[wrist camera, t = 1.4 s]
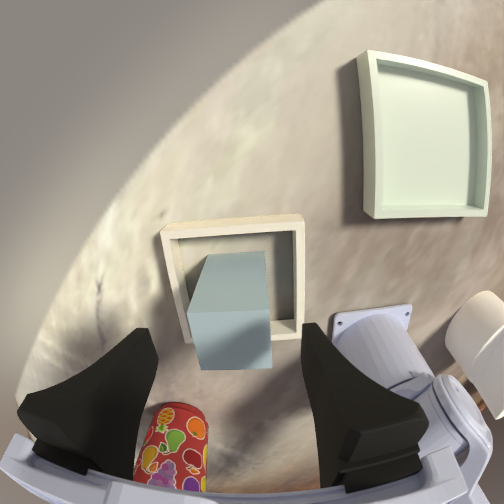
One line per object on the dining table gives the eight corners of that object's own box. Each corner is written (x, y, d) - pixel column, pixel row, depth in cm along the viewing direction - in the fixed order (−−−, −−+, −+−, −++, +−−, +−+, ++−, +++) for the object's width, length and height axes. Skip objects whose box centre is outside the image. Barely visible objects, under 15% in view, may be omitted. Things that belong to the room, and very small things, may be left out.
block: (267, 299, 24) (272, 367, 16) (215, 302, 24) (201, 369, 16) (264, 250, 22) (269, 309, 15) (207, 254, 22) (186, 313, 15)
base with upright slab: (465, 289, 24) (531, 357, 12) (505, 291, 24) (562, 345, 13) (433, 354, 27) (477, 428, 16) (477, 349, 27) (519, 408, 16)
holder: (300, 323, 25) (303, 337, 23) (189, 329, 25) (185, 343, 23) (300, 213, 21) (304, 221, 19) (167, 223, 21) (160, 232, 19)
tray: (471, 209, 20) (486, 216, 18) (362, 210, 21) (374, 218, 18) (471, 83, 16) (487, 81, 13) (355, 57, 16) (367, 49, 14)
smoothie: (158, 426, 32) (129, 550, 13) (144, 390, 29) (97, 539, 10) (217, 433, 32) (205, 566, 14) (213, 398, 29) (194, 564, 10)
